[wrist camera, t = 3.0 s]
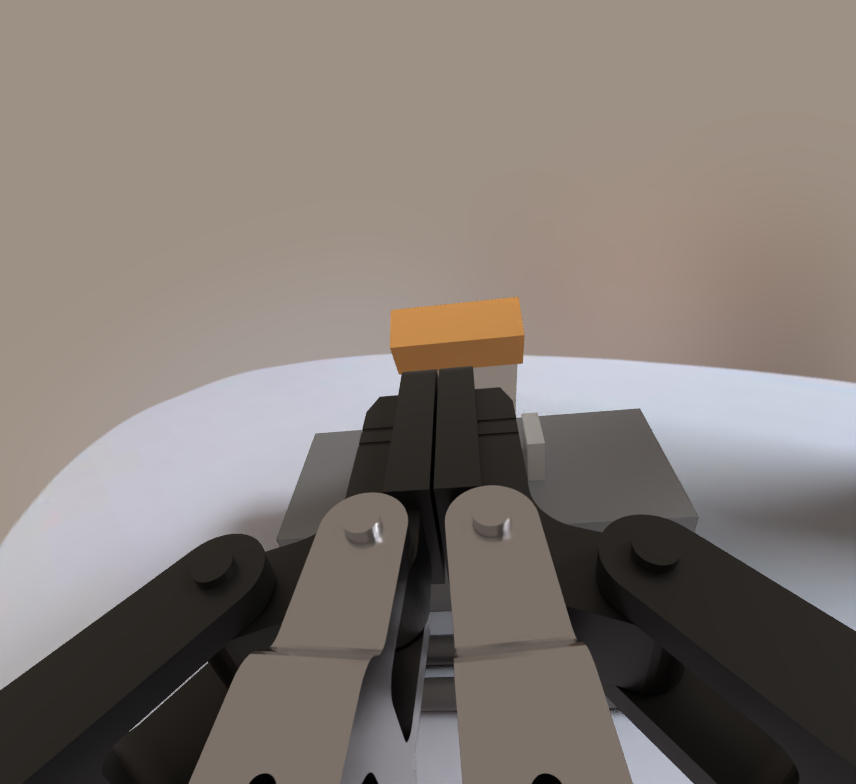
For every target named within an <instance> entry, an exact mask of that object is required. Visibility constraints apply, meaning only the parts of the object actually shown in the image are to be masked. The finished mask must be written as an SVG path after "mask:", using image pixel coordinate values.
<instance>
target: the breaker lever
mask: <svg viewBox="0 0 856 784" xmlns="http://www.w3.org/2000/svg"><path fill="white" fill-rule="evenodd" d="M523 348H524V330H523V323H522V316H521V310H520V304H519V297H513V298H503V299H494V300H485V301H474V302H465V303H455V304H445V305H435V306H426V307H417V308H407V309H397V310H391V331H390V349H391V352H392V355H393V358H394V361H395V364H396V367H397V370H398V373H399V374H402V373H403V372H408V371H419V370H431V369H437V372H438V378H439V369H442V368H453V367H465V366H473V371H474V383H475V389H483V388H495V387H500V388H501V389H502V390H503V391H504V392H505V393H506V394H507V395H508V396H509V397H510V398H511V399H512V400H513V404H514V409H515V411H516V386H517V364H522V363H523V350H524V349H523Z"/></svg>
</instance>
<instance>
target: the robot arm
mask: <svg viewBox="0 0 856 784" xmlns="http://www.w3.org/2000/svg"><path fill="white" fill-rule="evenodd" d="M445 562H446V568H447V575H448V581H449V583H450V593H451V605H452V618H453V630H454V643H455V653H454V677H455V691H456V704H457V717H458V730H459V743H460V757H461V770H462V783H463V784H633V783H632V779H631V776H630V773H629V770H628V767H627V764H626V760H625V757H624V754H623V751H622V748H621V745H620V741H619V738H618V735H617V732H616V729H615V726H614V723H613V719H612V716H611V713H610V710H609V707H608V704H607V700H606V697H607V698H608V699H609V700H610V701H611V702H612V703H613V704H614V705H615V706H616V707H617V708H618V709H619V710H620V711H621V712H622V713H623V714H624V715H625V716H626V717H627V718H628V719H629V720H630V721H631V722H632V723H633V724H634V725H635V726H636V727H637V728H638V729H639V730H640V731H641V732H642V733H643V734H644V735H645V736H646V737H647V738H648V739H649V740H650V741H651V742H652V743H653V744H654V745H655V746H656V747H657V748H658V749H659V750H660V751H661V752H662V753H663V754H664V755H666V756H667V757H668V758H669V759H670V760H671V761H672V762H673V763H674V764H675V765H676V766H677V767H678V768H679V769H680V770H681V771H682V772H683V773H684V774H685V775H686V776H687V777H688V778H689V779H690V780H691V781H692V782H693V783H694V784H856V631H854V630H853V629H851V628H849V627H848V626H846V625H844V624H843V623H841V622H839V621H838V620H836V619H835V618H833V617H831V616H830V615H828V614H826V613H825V612H823V611H821V610H820V609H818V608H817V607H815V606H813V605H812V604H810V603H808V602H807V601H805V600H803V599H802V598H800V597H799V596H797V595H795V594H794V593H792V592H790V591H789V590H787V589H785V588H784V587H782V586H781V585H779V584H777V583H776V582H774V581H772V580H771V579H769V578H768V577H766V576H764V575H763V574H761V573H759V572H758V571H756V570H754V569H753V568H751V567H750V566H748V565H746V564H745V563H743V562H741V561H740V560H738V559H736V558H735V557H733V556H732V555H730V554H728V553H727V552H725V551H723V550H722V549H720V548H718V547H717V546H715V545H714V544H712V543H710V542H709V541H707V540H705V539H704V538H702V537H700V536H699V535H697V534H696V533H694V532H692V531H691V530H689V529H687V528H686V527H684V526H682V525H680V524H678V523H677V522H674V521H672V520H669V519H666V518H663V517H659V516H654V515H644V514H637V515H629V516H625V517H622V518H619V519H617V520H615V521H613V522H612V523H610V524H609V525H608V526H607V527H606V528H605V529H604V531H603V532H598V531H593V530H589V529H584V528H579V527H575V526H571V525H567V524H565V523H562V522H560V521H558V520H556V519H554V518H552V517H550V516H549V515H547V514H546V513H545V512H543V511H542V510H541V509H540V508H539V507H538V506H537V504H536V503H535V502H534V500H533V498H532V496H531V494H530V490H529V485H528V480H527V474H526V469H525V463H524V458H523V453H522V447H521V442H520V436H519V431H518V425H517V421H516V414H515V409H514V404H513V400H512V399H511V398H510V397H509V396H508V395H507V394H506V393H505V392H504V391H503V390H502V389H501V388H500V387H495V388H483V389H475V383H474V371H473V366H465V367H453V368H442V369H439V378H438V372H437V369H431V370H419V371H408V372H403V373H402V376H401V382H400V388H399V394H398V395H397V396H385V397H379V398H378V400H377V401H376V402H375V403H374V404H373V405H372V407H371V408H370V409H369V410H368V411H367V413H366V417H365V421H364V425H363V432H362V433H361V437H360V441H359V447H358V449H357V453H356V457H355V461H354V465H353V469H352V473H351V477H350V481H349V485H348V489H347V493H346V497H345V500H343V501H341V502H339V503H338V504H336V505H335V506H334V507H333V508H331V510H330V511H329V512H328V513H327V514H326V515H325V517H324V518H323V519H322V521H321V523H320V526H319V528H318V531H317V533H316V534H314V535H312V536H310V537H308V538H306V539H303V540H301V541H298V542H295V543H291V544H288V545H285V546H282V547H279V548H276V549H273V550H270V551H267V552H265V551H264V549H263V547H262V545H261V544H260V543H259V541H258V540H256V539H255V538H253V537H251V536H248V535H244V534H229V535H224V536H220V537H217V538H214V539H212V540H209V541H207V542H205V543H203V544H201V545H200V546H198V547H197V548H195V549H194V550H192V551H191V552H190V553H188V554H187V555H186V556H184V557H183V558H181V559H180V560H179V561H177V562H176V563H175V564H173V565H172V566H170V567H169V568H168V569H166V570H165V571H164V572H162V573H161V574H159V575H158V576H157V577H155V578H154V579H153V580H151V581H150V582H148V583H147V584H146V585H144V586H143V587H142V588H140V589H139V590H138V591H136V592H135V593H133V594H132V595H131V596H129V597H128V598H127V599H125V600H124V601H122V602H121V603H120V604H118V605H117V606H116V607H114V608H113V609H111V610H110V611H109V612H107V613H106V614H105V615H103V616H102V617H100V618H99V619H98V620H96V621H95V622H94V623H92V624H91V625H89V626H88V627H87V628H85V629H84V630H83V631H81V632H80V633H79V634H77V635H76V636H74V637H73V638H72V639H70V640H69V641H68V642H66V643H65V644H63V645H62V646H61V647H59V648H58V649H57V650H55V651H54V652H52V653H51V654H50V655H48V656H47V657H46V658H44V659H43V660H41V661H40V662H39V663H37V664H36V665H35V666H33V667H32V668H30V669H29V670H28V671H26V672H25V673H24V674H22V675H21V676H19V677H18V678H17V679H15V680H14V681H13V682H11V683H10V684H9V685H7V686H6V687H4V688H3V689H2V690H0V784H417V775H416V746H417V736H418V728H419V719H420V710H421V702H422V693H423V685H424V676H425V668H426V659H427V651H428V642H429V633H430V620H429V613H430V597H431V584H445ZM207 661H208V664H207V665H205V666H204V667H203V668H202V669H201V670H200V671H199V672H198V673H197V674H195V675H194V676H193V677H192V678H191V679H190V680H189V681H188V682H186V683H185V684H184V685H183V686H182V687H181V688H180V689H179V690H178V691H176V692H175V693H174V694H173V695H172V696H171V697H170V698H169V699H167V700H166V701H165V702H164V703H163V704H162V705H161V706H160V707H159V708H157V709H156V710H155V711H154V712H153V713H152V714H151V715H150V716H148V717H147V718H146V719H145V720H144V721H143V722H142V723H141V724H139V725H138V726H137V727H136V728H134V729H133V730H131V729H132V728H133V727H134V726H135V725H136V724H138V723H139V722H140V721H141V720H142V719H143V718H144V717H145V716H147V715H148V714H149V713H150V712H151V711H152V710H153V709H154V708H156V707H157V706H158V705H159V704H160V703H161V702H162V701H163V700H164V699H166V698H167V697H168V696H169V695H170V694H171V693H172V692H173V691H175V690H176V689H177V688H178V687H179V686H180V685H181V684H182V683H184V682H185V681H186V680H187V679H188V678H189V677H190V676H191V675H193V674H194V673H195V672H196V671H197V670H198V669H199V668H200V667H202V666H203V665H204V664H205V663H206V662H207ZM605 696H606V697H605ZM130 730H131V731H130ZM129 731H130V732H129ZM127 732H128V733H127Z"/></svg>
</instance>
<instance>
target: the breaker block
mask: <svg viewBox="0 0 856 784" xmlns="http://www.w3.org/2000/svg"><path fill="white" fill-rule="evenodd" d="M516 421H517V425H518V431H519V436H520V442H521V447H522V453H523V458H524V463H525V469H526V474H527V480H528V485H529V490H530V494H531V496H532V498H533V500H534V502H535V503H536V504H537V506H538V507H539V508H540V509H541V510H542V511H543V512H545V513H546V514H547V515H549V516H550V517H552V518H554V519H556V520H558V521H560V522H562V523H565V524H567V525H571V526H575V527H579V528H584V529H589V530H593V531H598V532H603V531H604V529H605V528H606V527H607V526H608V525H609V524H610V523H612V522H613V521H615V520H617V519H619V518H622V517H625V516H629V515H637V514H644V515H654V516H659V517H663V518H666V519H669V520H672V521H674V522H677V523H678V524H680V525H682V526H684V527H686V528H687V529H689V530H691V531H692V532H695V528H696V524H697V521H698V517H699V516H698V515H697V513H696V511H695V509H694V507H693V505H692V504H691V502H690V500H689V498H688V496H687V494H686V492H685V491H684V489H683V487H682V485H681V483H680V481H679V480H678V478H677V476H676V474H675V472H674V470H673V469H672V467H671V465H670V463H669V461H668V459H667V458H666V456H665V454H664V452H663V450H662V448H661V446H660V445H659V443H658V441H657V439H656V437H655V435H654V434H653V432H652V430H651V428H650V426H649V424H648V423H647V421H646V419H645V417H644V415H643V413H642V412H641V410H640V409H627V410H614V411H601V412H588V413H575V414H563V415H550V416H538V413H526V414H522V418H516ZM362 432H363V430H357V431H344V432H331V433H318V434H315V436H314V439H313V442H312V444H311V447H310V450H309V453H308V455H307V458H306V461H305V463H304V466H303V469H302V472H301V474H300V477H299V480H298V482H297V485H296V488H295V491H294V493H293V496H292V499H291V501H290V504H289V507H288V510H287V512H286V515H285V518H284V520H283V523H282V526H281V529H280V531H279V534H278V537H277V542H278V544H279V546H280V547H282V546H285V545H288V544H291V543H295V542H298V541H301V540H303V539H306V538H308V537H310V536H312V535H314V534H316V533H317V531H318V528H319V526H320V523H321V521H322V519H323V518H324V517H325V515H326V514H327V513H328V512H329V511H330V510H331V508H333V507H334V506H335V505H336V504H338V503H339V502H341V501H343V500H345V497H346V493H347V489H348V485H349V481H350V477H351V473H352V469H353V465H354V461H355V457H356V453H357V449H358V447H359V441H360V437H361V433H362ZM430 611H452V605H451V593H450V583H449V581H448V575H447V568H446V562H445V584H431V597H430ZM454 653H455V643H454V634H450V635H429V642H428V651H427V659H426V665H444V664H454ZM605 697H606V696H605ZM606 700H607V704H608V707H609V708H617V707H616V706H615V705H614V704H613V703H612V702H611V701H610V700H609V699H608V698H607V697H606ZM447 710H457V704H456V691H455V677H430V678H424V685H423V693H422V702H421V710H420V711H447Z"/></svg>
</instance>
